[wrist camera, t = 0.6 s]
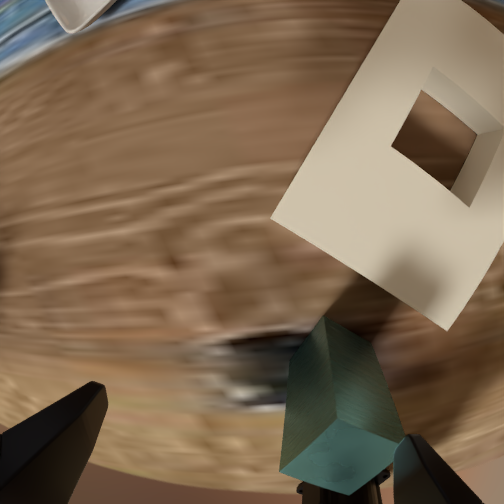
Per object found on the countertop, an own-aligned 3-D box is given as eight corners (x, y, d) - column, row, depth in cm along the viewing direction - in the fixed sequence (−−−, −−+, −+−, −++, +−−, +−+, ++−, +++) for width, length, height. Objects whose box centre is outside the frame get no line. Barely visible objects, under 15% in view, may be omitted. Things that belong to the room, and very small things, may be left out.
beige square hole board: (531, 100, 15) (558, 92, 11) (427, 309, 19) (447, 331, 16) (403, -4, 15) (417, -29, 11) (275, 211, 19) (270, 218, 16)
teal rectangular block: (371, 342, 20) (408, 447, 10) (336, 384, 21) (349, 495, 12) (323, 315, 20) (337, 418, 11) (289, 360, 21) (278, 471, 12)
